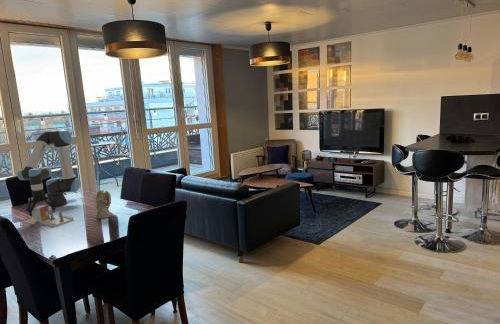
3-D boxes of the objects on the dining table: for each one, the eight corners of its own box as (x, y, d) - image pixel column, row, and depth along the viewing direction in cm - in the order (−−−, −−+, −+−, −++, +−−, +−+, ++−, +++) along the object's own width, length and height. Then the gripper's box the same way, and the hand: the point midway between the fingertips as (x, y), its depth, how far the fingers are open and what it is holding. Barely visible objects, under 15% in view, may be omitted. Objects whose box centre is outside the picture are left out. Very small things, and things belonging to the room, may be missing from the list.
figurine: (96, 220, 246) (92, 193, 242) (95, 216, 256) (91, 190, 253) (113, 217, 251) (110, 190, 248) (112, 213, 261) (108, 187, 258)
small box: (41, 222, 250) (39, 208, 248) (35, 222, 251) (32, 208, 249) (50, 218, 258) (47, 205, 256) (43, 218, 259) (41, 205, 257)
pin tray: (59, 217, 258) (58, 207, 257) (73, 220, 249) (71, 209, 247) (40, 223, 247) (38, 212, 245) (54, 226, 237) (52, 215, 236)
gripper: (51, 185, 263) (55, 212, 266) (16, 193, 242) (22, 222, 246) (56, 186, 259) (61, 213, 262) (22, 194, 238) (27, 223, 242)
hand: (42, 217), depth 254 cm, fingers open, 12 cm apart
